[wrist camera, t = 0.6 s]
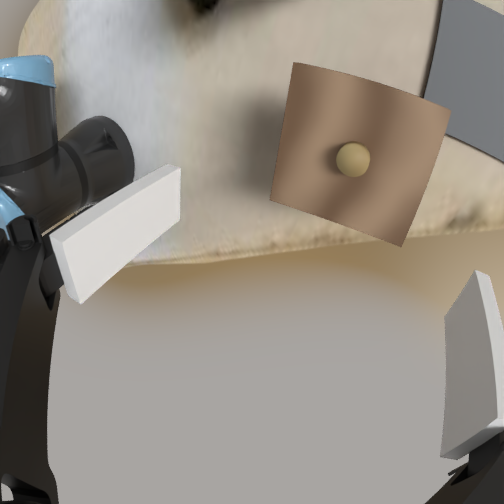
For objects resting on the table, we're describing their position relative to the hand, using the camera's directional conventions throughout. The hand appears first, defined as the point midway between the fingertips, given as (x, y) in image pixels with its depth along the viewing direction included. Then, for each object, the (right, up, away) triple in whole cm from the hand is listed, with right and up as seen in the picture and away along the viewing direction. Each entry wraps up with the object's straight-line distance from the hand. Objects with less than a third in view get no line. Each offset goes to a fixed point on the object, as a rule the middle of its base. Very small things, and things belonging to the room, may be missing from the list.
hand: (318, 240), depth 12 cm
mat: (+22, +17, +9) cm, 29 cm away
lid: (+6, +7, +11) cm, 14 cm away
